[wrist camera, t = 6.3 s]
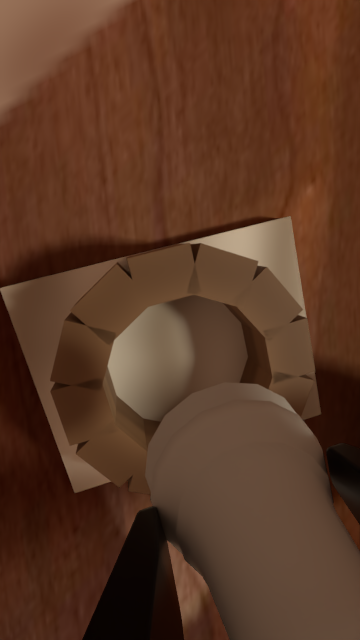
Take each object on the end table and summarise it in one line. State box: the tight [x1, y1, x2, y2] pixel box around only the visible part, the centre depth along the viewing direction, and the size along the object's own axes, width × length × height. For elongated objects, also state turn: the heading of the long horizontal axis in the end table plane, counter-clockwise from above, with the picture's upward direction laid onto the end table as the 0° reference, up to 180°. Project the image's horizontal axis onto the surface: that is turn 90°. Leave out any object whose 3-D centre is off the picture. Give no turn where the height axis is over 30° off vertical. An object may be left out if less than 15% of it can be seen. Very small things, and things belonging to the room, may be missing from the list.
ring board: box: [0, 216, 321, 495], centre depth 16 cm, size 14×11×4 cm
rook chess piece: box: [145, 382, 360, 640], centre depth 6 cm, size 4×4×8 cm
